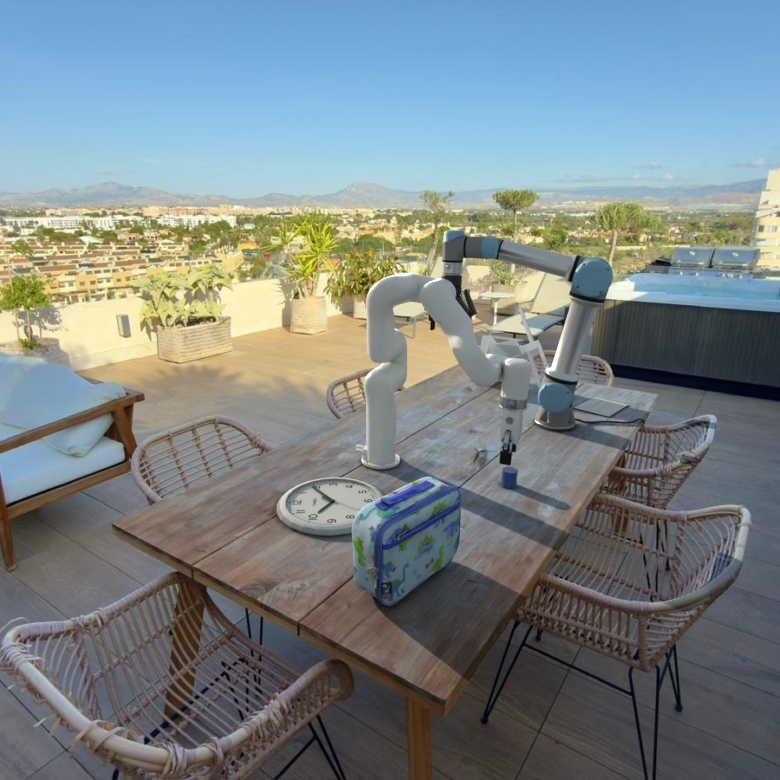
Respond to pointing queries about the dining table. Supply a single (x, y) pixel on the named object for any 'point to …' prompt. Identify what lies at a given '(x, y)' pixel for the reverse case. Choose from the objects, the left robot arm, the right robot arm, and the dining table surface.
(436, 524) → the lunch box
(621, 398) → the dining table surface
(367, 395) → the left robot arm
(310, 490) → the wall clock
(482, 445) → the fork
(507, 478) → the can
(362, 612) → the dining table surface
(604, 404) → the invitation card
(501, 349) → the white plastic object
